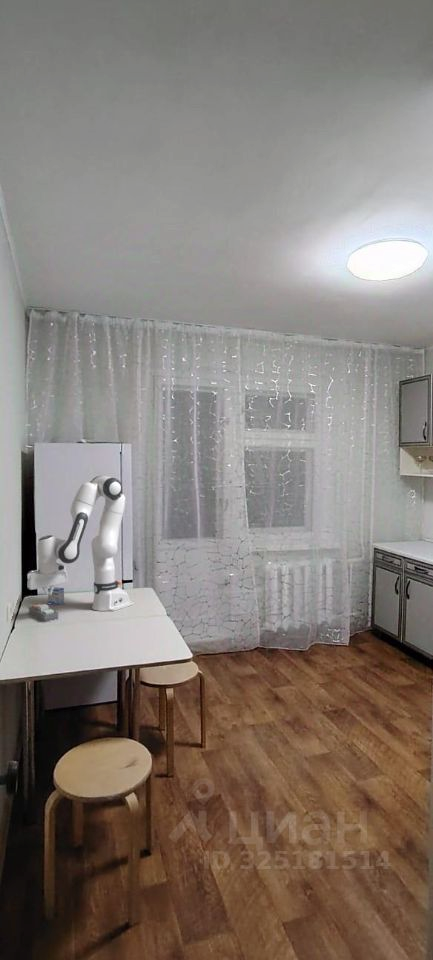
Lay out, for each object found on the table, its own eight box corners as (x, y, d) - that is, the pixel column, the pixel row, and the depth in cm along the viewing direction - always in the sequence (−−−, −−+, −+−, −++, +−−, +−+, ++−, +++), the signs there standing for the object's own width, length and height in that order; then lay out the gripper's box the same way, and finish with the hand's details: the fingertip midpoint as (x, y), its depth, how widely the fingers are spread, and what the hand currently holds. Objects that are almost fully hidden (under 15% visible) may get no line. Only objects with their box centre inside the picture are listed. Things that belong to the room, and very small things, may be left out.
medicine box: (47, 604, 280) (47, 588, 279) (52, 601, 284) (52, 586, 284) (59, 605, 277) (59, 589, 277) (64, 602, 282) (64, 587, 281)
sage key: (50, 615, 255) (50, 609, 255) (54, 616, 252) (53, 610, 252) (43, 616, 252) (43, 610, 252) (46, 618, 249) (46, 612, 249)
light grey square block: (45, 609, 260) (45, 604, 260) (48, 611, 257) (48, 605, 257) (37, 611, 257) (37, 605, 257) (41, 613, 254) (40, 607, 254)
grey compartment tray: (42, 610, 267) (41, 604, 267) (58, 619, 252) (58, 612, 252) (29, 613, 262) (28, 606, 262) (44, 622, 247) (44, 615, 247)
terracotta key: (40, 609, 265) (40, 604, 265) (43, 611, 262) (43, 605, 262) (32, 611, 262) (32, 605, 262) (36, 612, 259) (35, 607, 259)
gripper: (29, 572, 242) (30, 600, 243) (68, 565, 256) (70, 591, 256) (24, 570, 247) (25, 598, 248) (63, 563, 261) (64, 589, 261)
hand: (48, 594), depth 252 cm, fingers closed
